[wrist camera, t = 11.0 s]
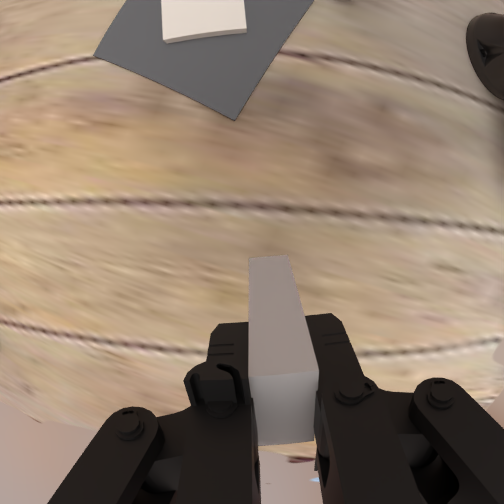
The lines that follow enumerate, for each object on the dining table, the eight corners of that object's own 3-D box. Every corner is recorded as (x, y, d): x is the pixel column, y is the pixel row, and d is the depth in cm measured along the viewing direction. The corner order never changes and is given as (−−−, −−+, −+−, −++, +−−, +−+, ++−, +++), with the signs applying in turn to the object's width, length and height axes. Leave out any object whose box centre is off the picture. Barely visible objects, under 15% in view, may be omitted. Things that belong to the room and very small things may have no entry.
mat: (313, 1, 31) (314, -1, 31) (234, 120, 38) (234, 120, 37) (171, -55, 27) (170, -57, 27) (94, 56, 33) (93, 55, 33)
